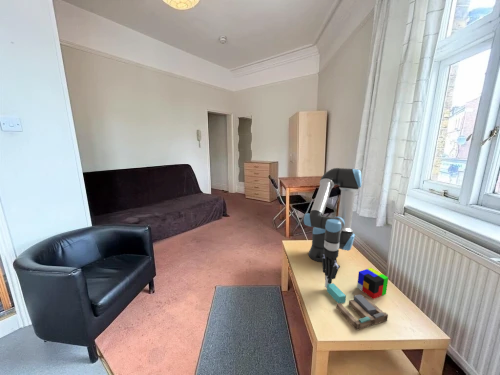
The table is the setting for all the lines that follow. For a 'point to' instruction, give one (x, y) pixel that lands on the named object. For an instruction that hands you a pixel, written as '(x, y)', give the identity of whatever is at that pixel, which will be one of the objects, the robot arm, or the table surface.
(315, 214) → the robot arm
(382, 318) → the comb rack
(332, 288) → the teal block
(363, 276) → the puzzle toy
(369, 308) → the grey block
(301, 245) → the table surface
